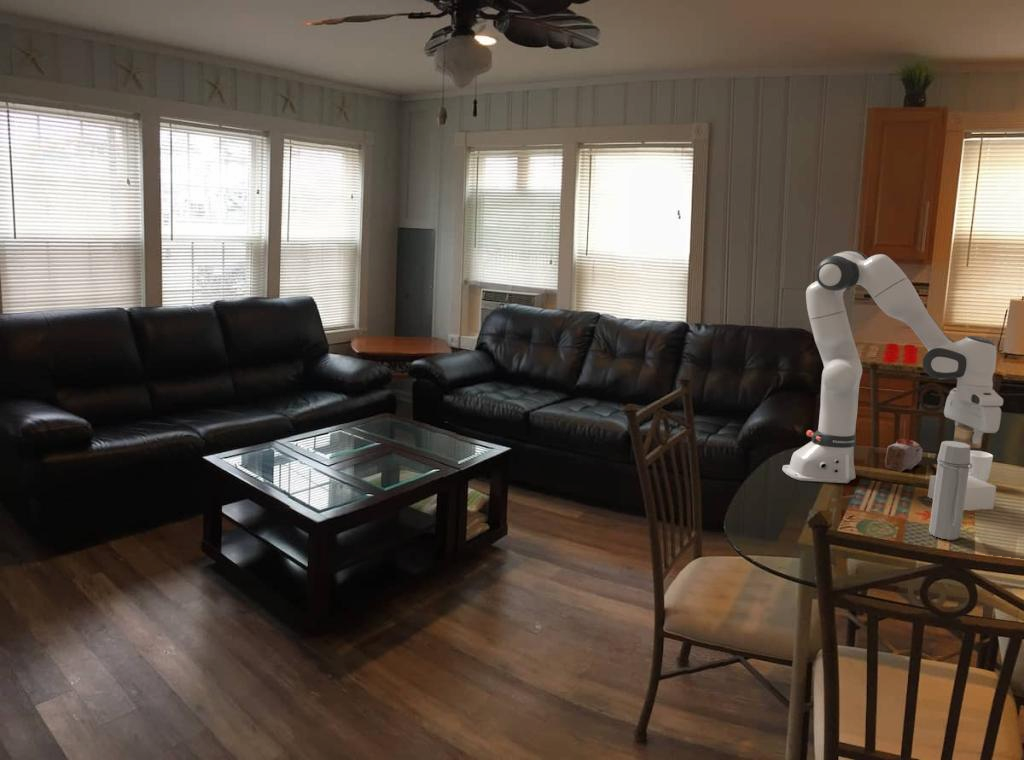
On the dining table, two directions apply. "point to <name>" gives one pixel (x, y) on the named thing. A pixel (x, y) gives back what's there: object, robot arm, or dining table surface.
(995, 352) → the robot arm
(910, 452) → the food item
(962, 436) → the oak cube
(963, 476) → the water bottle
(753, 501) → the dining table surface
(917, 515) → the dining table surface
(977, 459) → the white cup
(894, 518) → the dining table surface
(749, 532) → the dining table surface
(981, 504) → the white square block
